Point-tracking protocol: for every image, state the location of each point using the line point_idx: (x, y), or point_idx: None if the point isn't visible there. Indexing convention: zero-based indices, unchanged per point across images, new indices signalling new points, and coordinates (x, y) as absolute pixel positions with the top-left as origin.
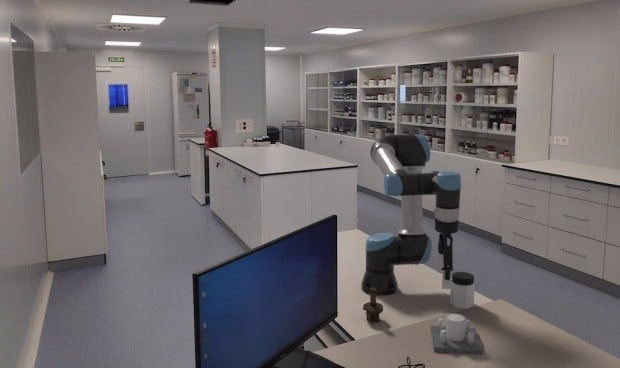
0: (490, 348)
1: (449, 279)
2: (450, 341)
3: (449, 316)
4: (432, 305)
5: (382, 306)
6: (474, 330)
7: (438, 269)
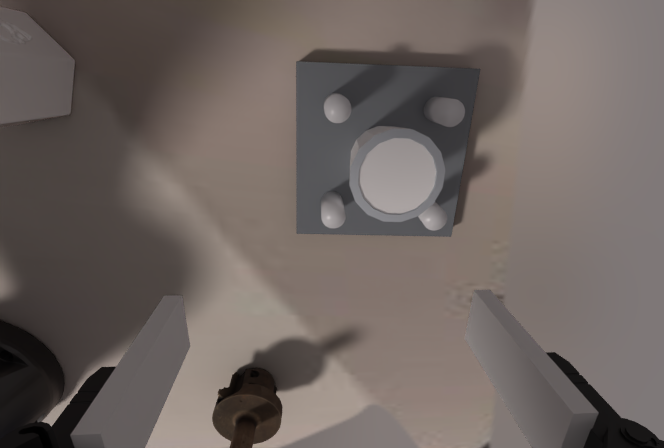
0: (428, 25)
1: (563, 360)
2: None
3: (383, 204)
4: (81, 201)
5: (242, 396)
6: (318, 69)
7: (182, 359)
